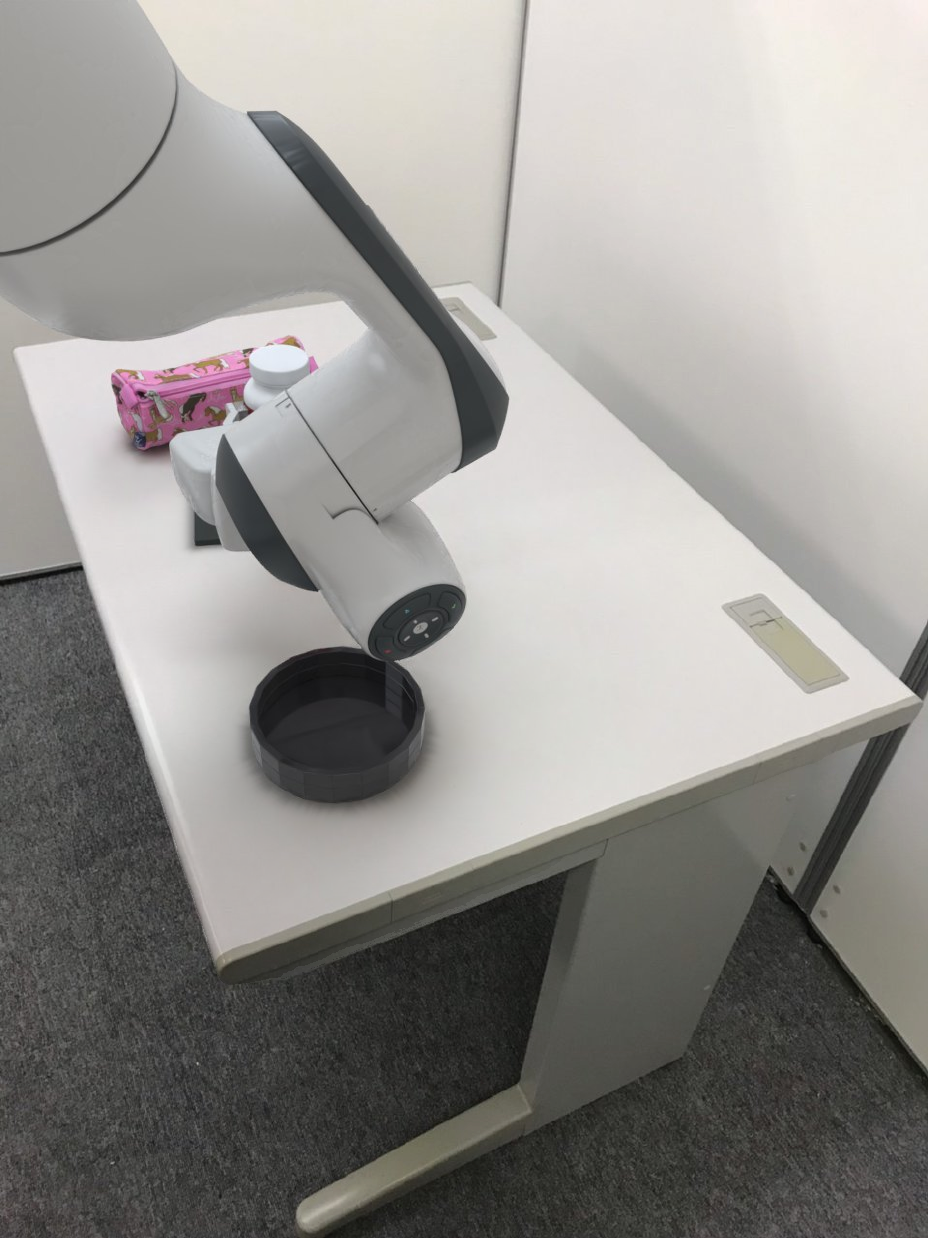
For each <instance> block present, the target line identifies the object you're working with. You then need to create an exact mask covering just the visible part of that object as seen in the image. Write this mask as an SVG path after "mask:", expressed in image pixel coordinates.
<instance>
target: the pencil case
mask: <svg viewBox="0 0 928 1238" xmlns="http://www.w3.org/2000/svg"><path fill="white" fill-rule="evenodd" d="M279 344H281V345H291V346H295V347H298V348H300V349H302V350H304V351H305V352H306V349H305V347H304V345H303V343H302V341H301V340H300V338H299V337H298V336H295V335H286V336H283V337H279V338H276V339H274V340H270V341H269V342H267V344H266V345H264V346H263V347H265V346H269V345H279ZM259 348H260V347H249V348H243V349H239V350H237V349H236V350H233V351H229V352H224V353H221V354H218V355H214V356H210V357H207V358H202V359H200V360H196V361H194V362H190V363H186V364H182V365H180V366H179V365H178V366H176V367H170V368H165V369H157V370H145V369H144V370H139V369H137V370H136V369H125V368H117V369H115V370H114V371H113V372H112V373H111V374H110V375H111V376H110V384H111V389H112V391H113V395H114V397H115V405H116V411H117V413H118V417H119V421H120V423H121V425H122V427H123V429H124V430H125V432H126V433H127V435H128V436H129V437H130V439H131V440H132V445H133V446H134V447H135V448H137V449H138V450H140V451H145V450H148V449H150V448H152V447H160V446H163V445H165V444H168V443H170V441H171V440H172V439H173V438H174V437H175V436H176V435H177V434H179V433H182V432H188V431H194V430H200V429H206V428H211V427H217V426H222V425H223V424H222V423H223V422H224V420H225V419H226V417H227V415H226V406H225V405H226V404H227V403H233V402H240V401H244V388H245V385H246V384H247V382H248V381H249V380H250V379H251V378H252V376H251V374H250V367H249V357H250V355H251V353H252V352H253V351H255V350H257V349H259ZM308 357H309V367H310V374H311V373H312V372H314V371H315V370H317V369H318V368H319V366H318V364H317V362H316V360H315V357H314V355H311V356H308Z"/></svg>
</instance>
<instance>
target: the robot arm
mask: <svg viewBox="0 0 928 1238" xmlns="http://www.w3.org/2000/svg"><path fill="white" fill-rule="evenodd" d="M316 293H317V294H320V293H321V294H322V293H323V294H328V295H329V294H330V295H333V296H336V297H338V298H339V299H340V300H341V301H343V302H344V304H346V305H347V307H348V308H349V309H350V310H351V311H352V312H353V313H354V315H356V316H357V317H358V319H359V320H361V322H362V323H363V324H364V325H365V326H366V327H367V329H366V330H365V331H364V332H363V334H362V335H361V336H360V337H359V338H357V340H356V341H354V342H353V343H352V344H351V345H350V346H349V347H347V348H346V349H344V350H343V351H341V352H340V353H338V354H337V355H335V356H333V358H331V359H329V360H328V361H327V362H325V363H323V364H322V365H321V366H320V367H319V366H318V369H317V370H315V371H314V372H312V373H311V374H309V375H308V376H306V377H305V378H303V379H302V380H301V381H299V382H298V383H296V384H295V385H293V386H292V387H290V388H289V389H288V390H287V392H288V393H287V392H286V391H285V390H284V391H283V392H281V393H280V394H278V395H277V396H275V397H274V398H273V399H271V400H270V401H268V402H267V403H265V404H264V405H262V406H261V407H259V408H258V409H257V410H255V411H254V412H253V413H251V414H250V415H249V410H248V408H247V406H246V405H245V403H244V401H240V402H233V403H227V404H226V405H225V406H226V415H227V417H226V419H225V420H224V422H223V423H222V424H223V425H222V426H217V427H211V428H206V429H200V430H194V431H188V432H182V433H179V434H177V435H176V436H175V437H174V438H173V439H172V440H171V441H170V442H169V454H170V461H171V466H172V471H173V475H174V478H175V481H176V483H177V486H178V488H179V489H180V491H181V493H182V495H183V497H184V498H185V500H186V501H187V502H188V504H189V506H190V507H191V508H192V510H193V511H194V513H195V512H196V514H197V515H198V516H199V517H200V518H201V519H203V520H204V521H205V522H207V523H209V524H212V525H215V526H216V528H217V532H218V535H219V538H220V541H221V546H222V547H223V549H224V550H226V551H229V552H235V553H236V552H237V553H240V552H242V553H245V552H251V554H252V556H253V557H254V558H255V559H256V560H257V562H258V563H259V564H260V565H261V566H262V567H263V568H264V569H265V570H266V571H267V572H268V573H269V574H270V575H272V576H273V577H274V578H276V579H277V580H278V581H280V582H283V583H285V584H288V585H291V586H293V587H296V588H299V589H302V590H305V591H309V592H313V593H318V592H320V594H321V595H322V597H323V598H324V600H325V602H326V604H327V605H328V606H329V608H330V610H331V611H332V613H333V614H334V616H335V617H336V618H337V620H338V621H339V622H340V624H341V625H342V627H343V628H344V629H345V630H346V632H347V633H348V634H349V636H350V637H351V638H352V639H353V640H354V641H355V642H356V644H357V645H358V646H359V648H360V649H363V650H364V651H365V652H366V653H367V654H368V655H370V656H371V657H373V658H375V659H378V660H382V661H395V662H397V661H401V660H405V659H408V658H412V657H414V656H417V655H418V654H420V653H422V652H424V651H425V650H428V649H429V648H430V647H431V646H433V645H434V644H436V643H437V642H439V641H440V640H441V639H443V638H444V637H446V636H447V635H448V634H449V633H450V632H451V631H452V630H454V628H455V627H456V626H457V624H458V623H459V622H460V620H461V618H462V617H463V614H464V613H465V610H466V607H467V601H468V595H467V590H466V586H465V584H464V581H463V579H462V576H461V574H460V572H459V569H458V567H457V565H456V563H455V561H454V559H453V557H452V555H451V553H450V551H449V550H448V548H447V545H446V544H445V542H444V541H443V538H442V537H441V535H440V533H439V532H438V531H437V529H436V527H435V526H434V524H433V523H432V522H431V520H430V519H429V517H428V516H427V515H426V513H425V512H424V511H423V510H422V508H421V507H420V506H419V505H418V504H417V503H415V502H414V501H412V500H413V499H415V498H416V497H418V496H420V495H421V494H422V493H423V492H425V491H427V490H428V489H430V488H431V487H432V486H434V485H435V484H437V483H438V482H440V481H441V480H443V479H444V478H445V477H447V476H448V475H451V474H455V473H456V472H458V471H460V470H462V469H464V468H466V467H467V466H469V465H471V464H473V462H474V463H475V462H476V461H477V460H479V459H481V458H482V457H484V456H486V455H488V454H490V453H492V452H493V451H495V450H496V449H497V447H498V445H499V441H500V439H501V437H502V434H503V429H504V426H505V423H506V420H507V416H508V411H509V403H510V396H509V394H508V392H507V387H506V382H505V380H504V376H503V374H502V372H501V370H500V368H499V365H498V364H497V362H496V360H495V359H494V357H493V355H492V354H491V352H490V351H489V350H488V348H487V346H486V345H485V344H484V342H482V340H481V339H480V338H479V336H477V334H476V333H475V332H474V331H473V330H472V329H471V328H470V327H469V326H468V325H467V324H466V323H465V322H463V321H462V320H461V319H460V318H458V317H457V316H456V315H454V314H453V313H452V312H451V311H449V310H448V309H447V308H446V307H445V305H444V303H443V302H442V299H441V298H440V297H439V296H438V294H437V293H436V292H435V290H434V289H433V287H432V286H431V285H430V284H429V282H428V281H427V280H426V278H425V277H424V276H423V275H422V273H421V272H420V271H419V269H418V268H417V266H416V265H415V264H414V262H413V261H412V260H411V259H410V257H409V255H408V254H406V252H405V250H404V249H403V248H402V246H401V245H400V244H399V242H398V241H397V240H396V239H395V237H394V236H393V234H392V233H391V231H390V230H389V229H388V227H387V226H386V225H385V224H384V222H383V221H382V220H381V218H380V217H379V216H378V215H377V213H376V212H375V210H374V209H372V207H371V206H370V205H369V204H366V202H365V201H364V200H363V199H362V198H361V196H360V195H359V194H358V192H357V191H356V190H355V188H354V187H353V186H352V185H351V184H350V182H349V181H348V179H347V178H346V176H344V174H343V173H342V172H341V170H340V169H339V168H338V167H337V165H336V164H335V163H334V161H332V159H331V158H330V157H329V155H327V153H326V152H325V151H324V149H322V148H321V146H320V145H319V144H318V143H317V142H316V140H314V139H313V138H312V136H310V135H309V134H308V133H306V131H304V129H303V128H301V127H300V126H299V125H298V124H297V123H296V122H294V121H293V120H291V119H290V118H288V117H287V116H285V115H284V114H282V113H281V112H280V111H278V110H248V111H246V112H242V111H239V110H237V109H235V108H232V107H230V106H227V105H226V104H223V103H221V102H219V101H217V100H216V99H213V98H212V97H210V96H209V95H207V94H206V93H205V92H203V91H201V90H200V89H199V88H198V87H197V86H196V85H194V83H192V82H191V81H190V80H189V79H188V78H187V76H186V75H185V74H184V73H183V71H182V70H181V69H180V67H179V66H178V64H177V63H176V62H175V59H174V58H173V57H172V55H171V54H170V52H169V50H168V47H166V45H165V43H164V41H163V40H162V38H161V37H160V35H159V33H158V32H157V30H156V29H155V27H154V25H153V24H152V22H151V21H150V19H149V17H148V15H147V14H146V12H145V11H144V9H143V7H142V6H141V5H140V3H139V2H138V1H137V0H0V299H1V300H3V301H4V302H5V303H7V304H8V305H10V306H11V307H12V308H14V309H15V310H17V311H18V312H20V313H21V314H23V315H25V316H26V317H28V318H29V319H31V320H33V321H35V322H37V323H38V324H40V325H43V326H44V327H47V328H48V329H51V330H54V331H56V332H58V333H61V334H64V335H68V336H72V337H75V338H80V339H86V340H91V341H102V342H123V343H124V342H140V341H141V342H143V341H150V340H151V341H152V340H155V339H161V338H167V337H171V336H175V335H178V334H182V333H186V332H188V331H191V330H193V329H196V328H198V327H201V326H203V325H206V324H208V323H211V322H214V321H216V320H218V319H221V318H224V317H227V316H229V315H231V314H234V313H237V312H239V311H240V312H241V311H243V310H245V309H248V308H251V307H255V306H258V305H260V304H265V303H268V302H272V301H275V300H279V299H283V298H288V297H293V296H297V295H304V294H316ZM288 394H289V395H290V396H289V395H288Z"/></svg>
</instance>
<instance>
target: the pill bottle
mask: <svg viewBox="0 0 928 1238" xmlns="http://www.w3.org/2000/svg"><path fill="white" fill-rule="evenodd" d="M264 346H265V347H264ZM264 346H261V347H258V348H259V349H257V350H255V351H253V352H252V353H251V355H250V357H249V367H250V374H251V376H252V378H251V379H250V380H249V381H248V382H247V384H246V385H245V388H244V403H245V405H246V406H247V408H248V410H249V415H250V414H251V413H253V412H254V411H255V410H257V409H258V408H259V407H261V406H262V405H264V404H265V403H267V402H268V401H270V400H271V399H273V398H274V397H275V396H277V395H278V394H280V393H281V392H283V391H284V390H285V391H286V392H287V390H288V389H289V388H290V387H292V386H293V385H295V384H296V383H298V382H299V381H301V380H302V379H303V378H305V377H306V376H308V375H309V374H310V367H309V357H310V356H309V355H308V353H307V352H306V350H305V351H304V350H302V349H300V348H298V347H295V346H291V345H281V344H279V345H269V346H266V345H264ZM287 393H288V392H287ZM288 395H289V394H288ZM289 396H290V395H289Z"/></svg>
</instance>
